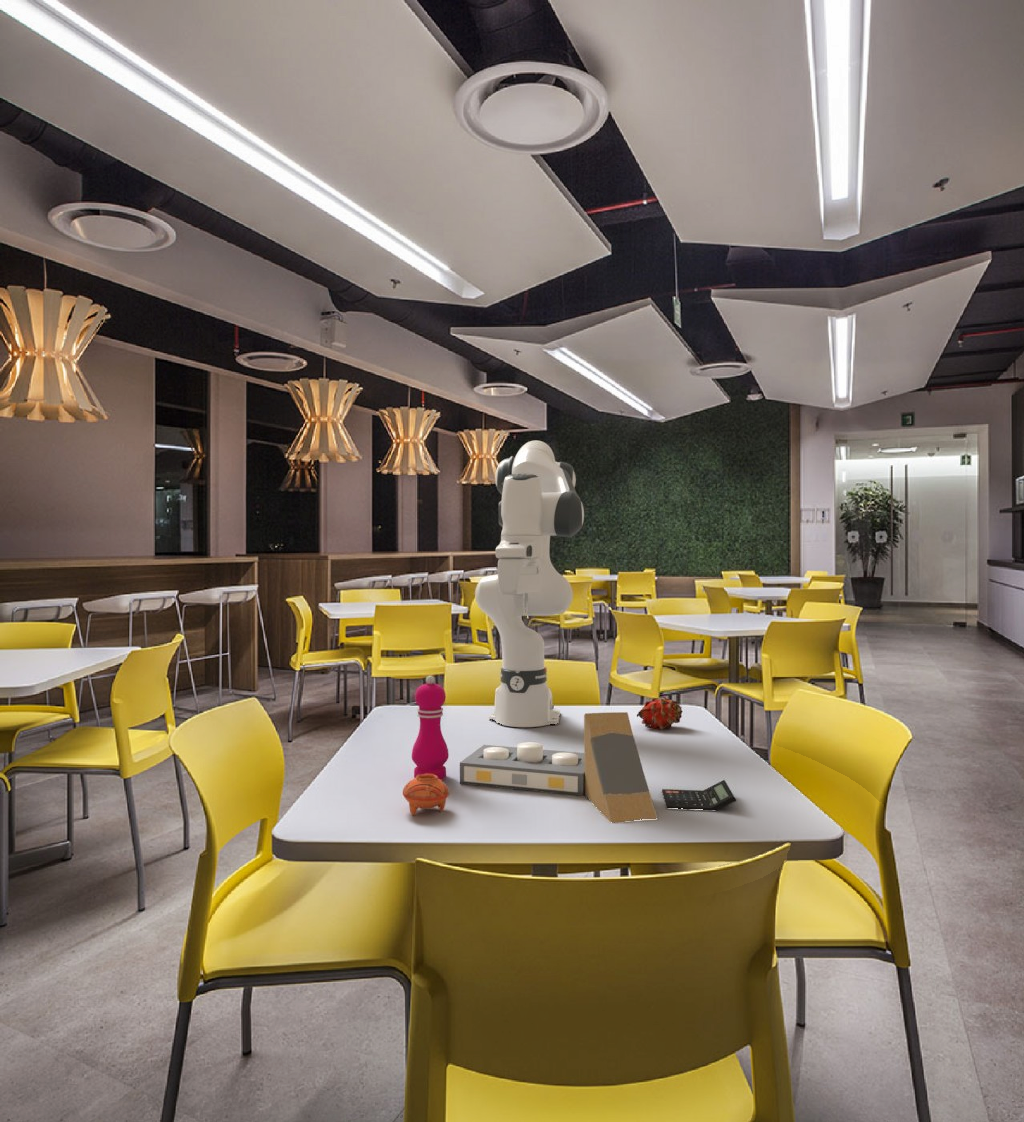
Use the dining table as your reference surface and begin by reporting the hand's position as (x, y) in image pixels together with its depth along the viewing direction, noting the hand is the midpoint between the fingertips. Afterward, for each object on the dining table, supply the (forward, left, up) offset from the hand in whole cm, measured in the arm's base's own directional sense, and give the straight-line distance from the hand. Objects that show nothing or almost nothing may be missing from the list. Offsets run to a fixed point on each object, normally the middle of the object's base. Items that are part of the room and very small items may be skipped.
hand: (521, 614), depth 155 cm
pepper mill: (+16, -14, -31) cm, 38 cm away
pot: (+34, -7, -31) cm, 47 cm away
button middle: (+11, +5, -29) cm, 31 cm away
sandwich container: (+22, +24, -32) cm, 45 cm away
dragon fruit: (-40, +25, -31) cm, 57 cm away
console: (+11, +5, -31) cm, 33 cm away
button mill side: (+11, -2, -30) cm, 32 cm away
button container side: (+11, +12, -30) cm, 34 cm away
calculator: (+15, +37, -32) cm, 51 cm away
